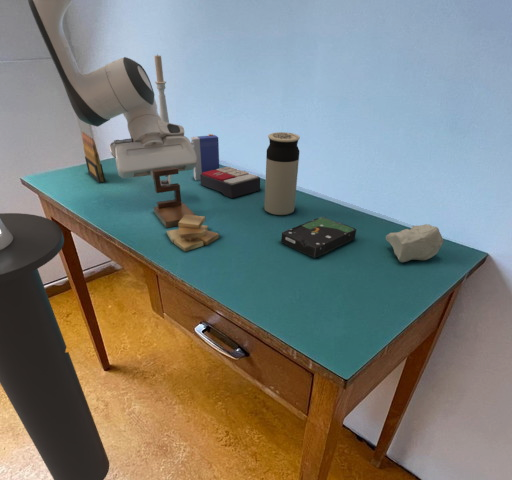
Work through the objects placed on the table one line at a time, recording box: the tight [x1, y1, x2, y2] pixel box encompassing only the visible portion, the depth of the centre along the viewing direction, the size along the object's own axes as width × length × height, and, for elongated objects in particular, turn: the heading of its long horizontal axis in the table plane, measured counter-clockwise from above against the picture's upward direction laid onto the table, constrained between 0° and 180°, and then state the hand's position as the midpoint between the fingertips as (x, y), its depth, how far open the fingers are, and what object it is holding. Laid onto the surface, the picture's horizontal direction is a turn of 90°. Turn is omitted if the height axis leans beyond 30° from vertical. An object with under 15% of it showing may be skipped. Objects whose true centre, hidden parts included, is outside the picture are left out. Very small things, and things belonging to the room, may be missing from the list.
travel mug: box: [264, 131, 300, 216], centre depth 100 cm, size 8×8×18 cm
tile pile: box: [166, 214, 220, 252], centre depth 90 cm, size 10×11×4 cm
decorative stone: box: [385, 223, 444, 263], centre depth 85 cm, size 11×9×10 cm
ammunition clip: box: [81, 131, 106, 184], centre depth 118 cm, size 11×2×12 cm, turn 35°
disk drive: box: [280, 216, 357, 259], centre depth 91 cm, size 10×3×15 cm
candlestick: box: [154, 53, 170, 123], centre depth 128 cm, size 13×13×30 cm
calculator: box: [200, 166, 261, 199], centre depth 117 cm, size 11×4×15 cm
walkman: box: [190, 133, 220, 181], centre depth 120 cm, size 8×3×12 cm, turn 115°
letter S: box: [152, 167, 197, 229], centre depth 97 cm, size 8×10×10 cm
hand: (165, 188), depth 100 cm, fingers closed, pressing on letter S
